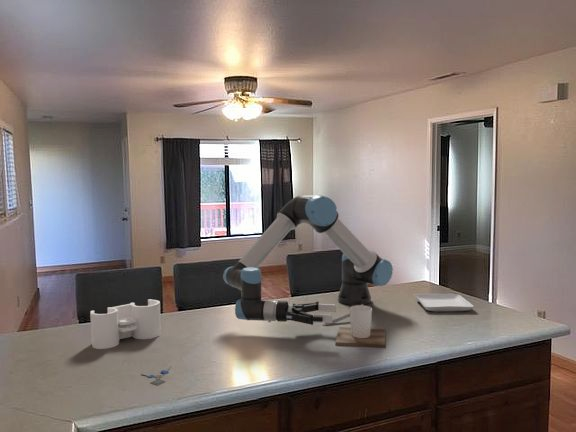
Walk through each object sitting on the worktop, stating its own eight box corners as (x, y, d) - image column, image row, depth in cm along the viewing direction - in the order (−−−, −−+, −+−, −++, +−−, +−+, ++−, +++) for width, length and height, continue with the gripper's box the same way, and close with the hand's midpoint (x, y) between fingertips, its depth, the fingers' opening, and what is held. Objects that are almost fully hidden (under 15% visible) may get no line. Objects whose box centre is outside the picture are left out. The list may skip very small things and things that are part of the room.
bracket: (98, 351, 165) (97, 316, 164) (88, 344, 172) (86, 310, 171) (165, 335, 182) (164, 303, 181) (154, 328, 189) (153, 298, 188)
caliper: (364, 318, 201) (364, 303, 200) (366, 318, 200) (365, 303, 199) (322, 325, 191) (322, 310, 191) (323, 326, 190) (323, 310, 190)
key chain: (164, 386, 138) (164, 383, 138) (134, 387, 137) (134, 385, 137) (172, 367, 152) (172, 364, 152) (145, 368, 151) (145, 365, 151)
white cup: (358, 340, 170) (358, 312, 169) (345, 333, 177) (345, 307, 176) (376, 336, 174) (376, 309, 173) (363, 330, 181) (363, 304, 180)
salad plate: (475, 313, 206) (475, 305, 205) (424, 314, 206) (424, 306, 206) (458, 300, 227) (458, 293, 226) (412, 301, 227) (412, 293, 227)
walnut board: (339, 329, 186) (339, 326, 186) (384, 331, 182) (384, 329, 182) (335, 344, 169) (335, 342, 169) (385, 347, 166) (385, 344, 166)
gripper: (283, 311, 193) (337, 313, 189) (269, 331, 169) (330, 334, 165) (283, 292, 193) (337, 294, 189) (269, 310, 168) (330, 313, 164)
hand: (334, 313), depth 177 cm, fingers open, 13 cm apart
